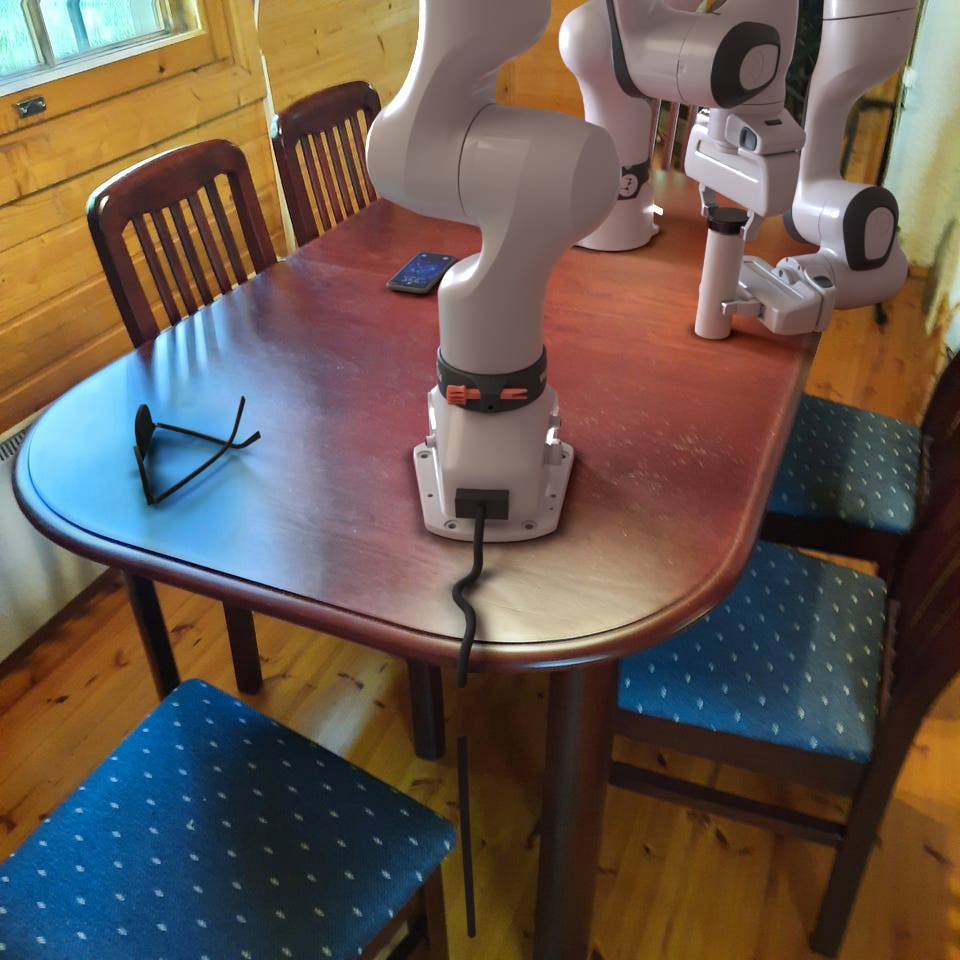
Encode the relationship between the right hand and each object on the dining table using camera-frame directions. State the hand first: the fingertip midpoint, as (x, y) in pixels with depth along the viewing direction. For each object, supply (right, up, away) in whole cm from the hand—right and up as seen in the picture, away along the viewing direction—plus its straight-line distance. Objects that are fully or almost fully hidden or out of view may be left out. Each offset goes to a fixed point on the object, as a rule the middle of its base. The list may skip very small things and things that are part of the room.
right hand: (711, 299), depth 122 cm
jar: (+1, -4, +3) cm, 5 cm away
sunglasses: (-66, -23, -20) cm, 73 cm away
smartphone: (-43, +9, +22) cm, 49 cm away
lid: (+1, +10, -7) cm, 12 cm away
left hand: (+1, +8, -6) cm, 10 cm away
